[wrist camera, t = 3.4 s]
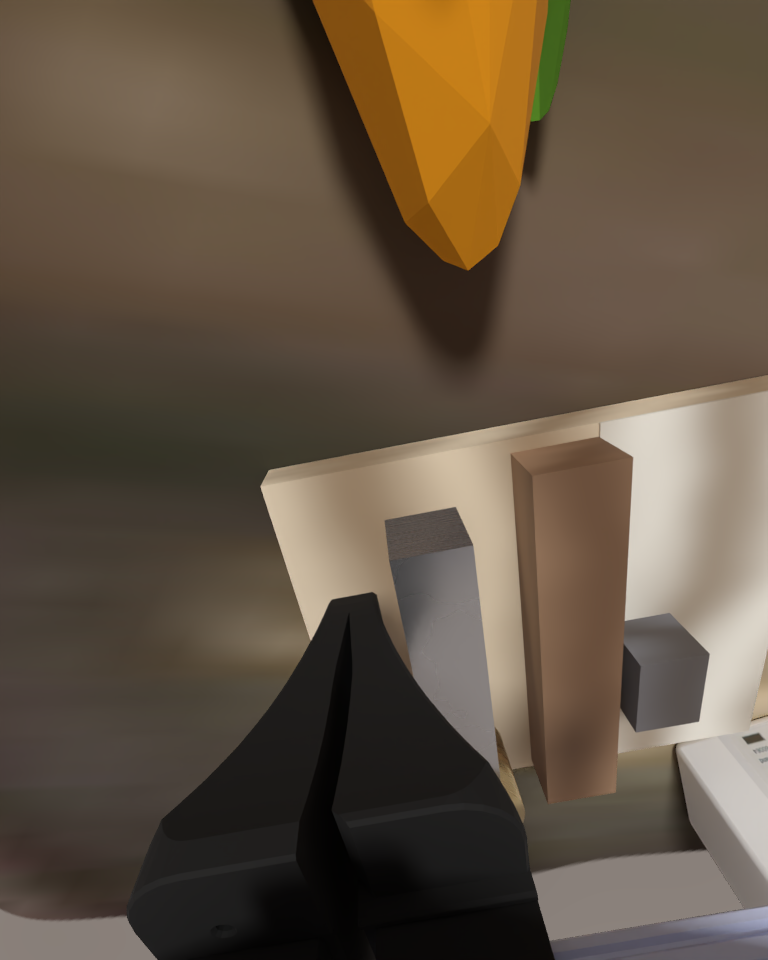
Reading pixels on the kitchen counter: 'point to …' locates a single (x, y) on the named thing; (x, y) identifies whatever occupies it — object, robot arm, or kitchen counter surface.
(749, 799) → the container
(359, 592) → the brown-striped cream panel
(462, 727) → the bar
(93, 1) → the kitchen counter surface
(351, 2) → the corn
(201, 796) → the robot arm
